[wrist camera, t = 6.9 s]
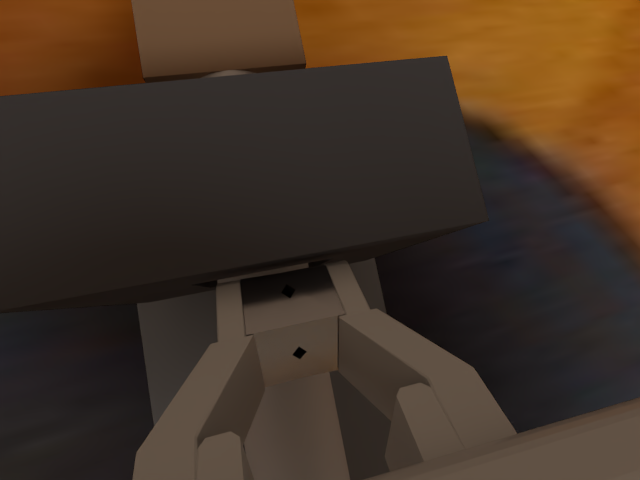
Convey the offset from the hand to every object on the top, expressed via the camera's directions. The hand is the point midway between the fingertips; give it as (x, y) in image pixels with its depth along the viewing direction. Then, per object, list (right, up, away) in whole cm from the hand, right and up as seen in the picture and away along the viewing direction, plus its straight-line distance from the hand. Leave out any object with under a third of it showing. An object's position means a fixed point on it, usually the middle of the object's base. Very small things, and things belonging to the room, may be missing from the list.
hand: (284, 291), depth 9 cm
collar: (-2, +1, +9) cm, 9 cm away
